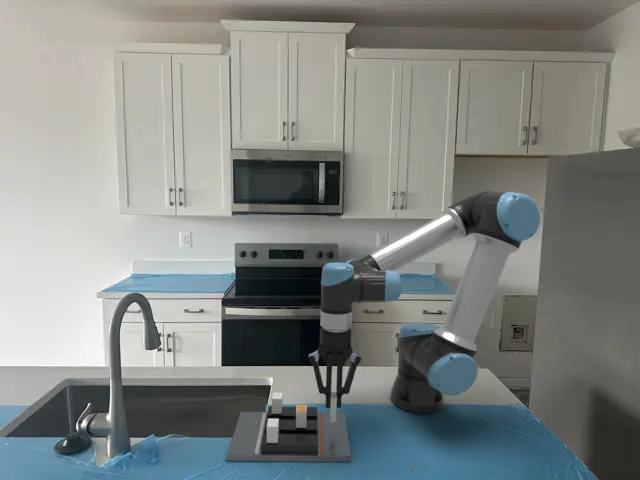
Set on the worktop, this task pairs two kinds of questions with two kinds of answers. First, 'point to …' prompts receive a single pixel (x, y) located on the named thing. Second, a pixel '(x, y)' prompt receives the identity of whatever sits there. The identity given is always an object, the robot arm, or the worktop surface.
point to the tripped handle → (301, 416)
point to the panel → (251, 435)
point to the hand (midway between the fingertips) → (332, 419)
